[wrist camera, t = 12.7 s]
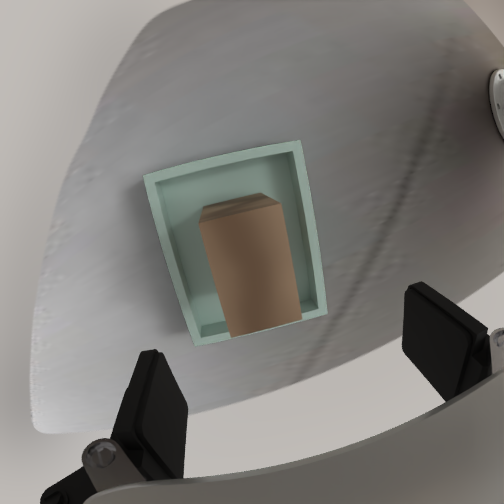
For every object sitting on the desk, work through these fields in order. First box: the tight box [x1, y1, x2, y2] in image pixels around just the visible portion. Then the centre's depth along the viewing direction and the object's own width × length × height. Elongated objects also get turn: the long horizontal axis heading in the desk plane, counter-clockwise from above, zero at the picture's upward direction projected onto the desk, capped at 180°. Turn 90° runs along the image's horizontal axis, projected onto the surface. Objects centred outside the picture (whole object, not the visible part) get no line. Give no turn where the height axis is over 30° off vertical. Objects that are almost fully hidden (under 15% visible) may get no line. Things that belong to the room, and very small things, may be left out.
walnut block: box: [198, 193, 302, 338], centre depth 22 cm, size 5×8×8 cm, turn 12°
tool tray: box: [143, 140, 328, 347], centre depth 25 cm, size 13×16×3 cm
